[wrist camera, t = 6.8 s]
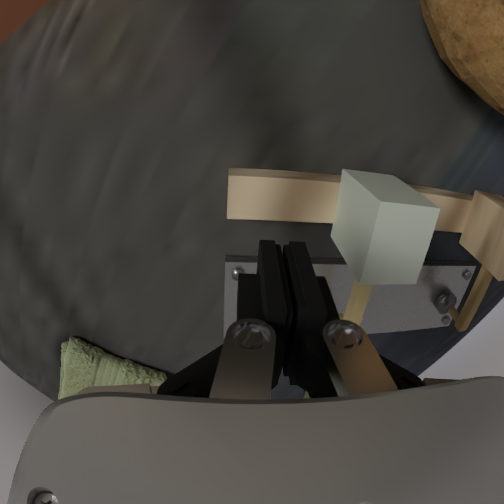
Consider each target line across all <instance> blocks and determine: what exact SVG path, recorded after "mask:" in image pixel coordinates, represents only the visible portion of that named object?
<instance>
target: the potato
mask: <svg viewBox="0 0 504 504" xmlns="http://www.w3.org/2000/svg"><path fill="white" fill-rule="evenodd" d="M420 4H421V9H422V14H423V18H424V21H425V23H426V26H427V28H428V31H429V33H430V36H431V38H432V40H433V43H434V45H435V47H436V49H437V51H438V54H439V56H440V58H441V59H442V60H443V62H444V63H445V64H446V65H447V66H448V68H449V69H450V70H451V71H452V72H453V74H454V75H455V76H457V77H458V78H459V79H460V80H461V81H463V82H464V83H465V84H466V85H467V86H468V87H470V88H471V89H472V90H473V91H474V92H475V93H476V94H477V95H478V96H479V97H480V98H481V99H482V100H483V101H484V102H486V103H487V104H489V105H490V106H491V107H493V108H494V109H495V110H497V111H498V112H500V113H501V114H502V115H504V0H420Z"/></svg>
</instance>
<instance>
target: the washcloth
mask: <svg viewBox="0 0 504 504" xmlns="http://www.w3.org/2000/svg"><path fill="white" fill-rule="evenodd" d="M61 347H62V350H61V351H62V354H61V361H62V362H61V363H62V367H60V368H61V373H60V375H61V376H60V379H61V380H60V388H59V390H60V392H59V393H58V395H59V396H58V400H59V399H62V398H65V397H69V396H72V395H76V394H77V393H78V392H79V391H80V390H82V389H84V388H86V387H91V386H112V385H131V384H145V383H150V386H160V385H161V384H162V383H163V382H164V381H166V380H167V377H166V374H165V373H164V372H161V371H157V370H155V369H150V368H148V367H145V366H142V365H140V364H138V363H137V364H136V363H135V362H133V361H131V360H129V359H125V360H123V359H120V358H119V357H116V356H114V355H110V354H108V353H106V352H104V351H103V350H102V349H101V348H98V347H96V346H94V347H93V345H91V344H90V343H89V344H87V343H86V342H85V341H82V340H81V339H80V338H75V337H70V339H69V341H67V342H63V343H62V346H61Z"/></svg>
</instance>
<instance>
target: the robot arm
mask: <svg viewBox="0 0 504 504" xmlns="http://www.w3.org/2000/svg"><path fill="white" fill-rule="evenodd" d="M282 366H283V374H284V376H289V380H290V385H298V386H299V387H301V388H302V389H304V390H303V397H304V399H270V394H271V390H272V389H273V388H274V387H275V386H276V385H277V384H278V379H279V376H280V374H281V369H282ZM7 504H504V377H500V376H485V377H475V378H469V379H462V380H451V379H433V378H424V380H423V381H422V380H421V379H420V378H419V377H417V376H416V375H415V374H413V373H411V372H409V371H408V370H406V369H404V368H402V367H400V366H399V365H397V364H395V363H393V362H392V361H390V360H388V359H386V358H385V357H383V356H381V355H379V354H378V353H377V351H376V349H375V348H374V346H373V344H372V343H371V341H370V339H369V337H368V336H367V334H366V332H365V331H364V330H363V329H362V327H360V326H359V325H357V324H356V323H354V322H351V321H348V320H340V317H339V314H338V311H337V308H336V306H335V303H334V300H333V297H332V294H331V291H330V289H329V286H328V283H327V280H326V278H325V277H324V276H316V274H315V271H314V268H313V265H312V262H311V259H310V256H309V253H308V250H307V247H306V244H305V242H293V241H290V242H289V245H284V247H283V253H282V251H281V246H280V245H277V244H275V241H273V240H260V242H259V251H258V262H257V272H256V274H248V273H238V289H237V319H236V322H234V323H232V324H231V325H230V326H229V328H228V330H227V332H226V335H225V339H224V343H223V344H222V345H221V346H219V347H218V348H216V349H215V350H213V351H212V352H210V353H208V354H207V355H205V356H204V357H202V358H201V359H199V360H197V361H196V362H194V363H193V364H191V365H189V366H188V367H186V368H185V369H183V370H181V371H180V372H178V373H176V374H175V375H173V376H172V377H170V378H168V379H167V380H166V381H164V382H163V383H162V384H161V385H160V386H150V383H145V384H131V385H112V386H91V387H86V388H84V389H82V390H80V391H79V392H78V393H77V394H76V395H72V396H69V397H65V398H62V399H59V400H57V401H55V402H53V403H52V404H50V405H49V406H48V407H47V408H45V409H44V411H43V412H42V413H41V414H40V416H39V417H38V419H37V420H36V422H35V424H34V425H33V427H32V429H31V431H30V433H29V435H28V438H27V440H26V442H25V445H24V447H23V450H22V453H21V455H20V459H19V461H18V464H17V467H16V471H15V474H14V478H13V481H12V485H11V489H10V493H9V498H8V502H7Z"/></svg>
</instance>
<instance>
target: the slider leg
mask: <svg viewBox="0 0 504 504" xmlns="http://www.w3.org/2000/svg"><path fill="white" fill-rule="evenodd" d="M439 212H440V208H439V207H438V206H436V205H435V204H434V203H432V202H431V201H430V200H428V199H427V198H426V197H424V196H423V195H421V194H420V193H419V192H417V191H416V190H414V189H413V188H411V187H410V186H409V185H407V184H406V183H404V182H403V181H401V180H400V179H398V178H397V177H395V176H393V175H387V174H379V173H372V172H364V171H356V170H348V169H342V176H341V182H340V188H339V193H338V199H337V205H336V210H335V216H334V221H333V226H332V232H331V238H332V239H333V241H334V243H335V244H336V246H337V248H338V249H339V251H340V253H341V255H342V256H343V258H344V260H345V261H346V263H347V265H348V267H349V268H350V270H351V272H352V273H353V275H354V277H355V280H354V284H353V287H352V291H351V294H350V298H349V301H348V304H347V308H346V311H345V314H344V316H343V314H342V313H338V314H339V317H340V320H348V321H351V322H354V323H356V324H357V325H360V322H361V320H362V317H363V314H364V311H365V308H366V305H367V302H368V299H369V296H370V293H371V290H372V287H373V285H388V284H416V281H417V279H418V276H419V273H420V271H421V268H422V265H423V262H424V259H425V257H426V254H427V251H428V248H429V245H430V242H431V238H432V235H433V232H434V229H435V225H436V222H437V219H438V215H439Z"/></svg>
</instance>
